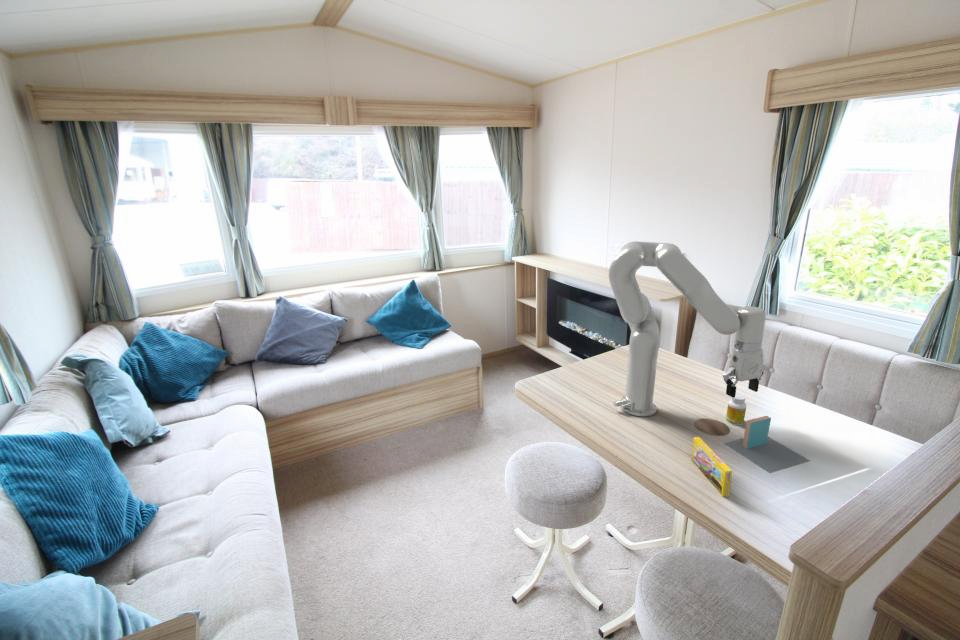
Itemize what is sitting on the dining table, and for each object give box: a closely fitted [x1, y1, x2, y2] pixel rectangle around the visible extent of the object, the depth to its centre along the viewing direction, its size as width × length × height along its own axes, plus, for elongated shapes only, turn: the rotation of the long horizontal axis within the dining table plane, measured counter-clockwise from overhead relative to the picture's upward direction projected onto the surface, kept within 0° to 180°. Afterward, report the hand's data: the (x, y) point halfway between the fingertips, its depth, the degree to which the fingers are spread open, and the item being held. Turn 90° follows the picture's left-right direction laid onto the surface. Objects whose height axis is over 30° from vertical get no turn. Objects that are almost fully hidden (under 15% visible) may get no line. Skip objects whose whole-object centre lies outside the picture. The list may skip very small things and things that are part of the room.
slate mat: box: [723, 436, 811, 474], centre depth 139 cm, size 16×16×1 cm
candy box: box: [691, 436, 733, 498], centre depth 128 cm, size 16×2×8 cm, turn 5°
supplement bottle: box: [725, 393, 747, 426], centre depth 155 cm, size 5×5×10 cm
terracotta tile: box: [742, 415, 772, 449], centre depth 142 cm, size 8×2×9 cm, turn 109°
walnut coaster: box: [693, 417, 731, 437], centre depth 154 cm, size 11×11×1 cm
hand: (741, 392), depth 153 cm, fingers open, 9 cm apart
